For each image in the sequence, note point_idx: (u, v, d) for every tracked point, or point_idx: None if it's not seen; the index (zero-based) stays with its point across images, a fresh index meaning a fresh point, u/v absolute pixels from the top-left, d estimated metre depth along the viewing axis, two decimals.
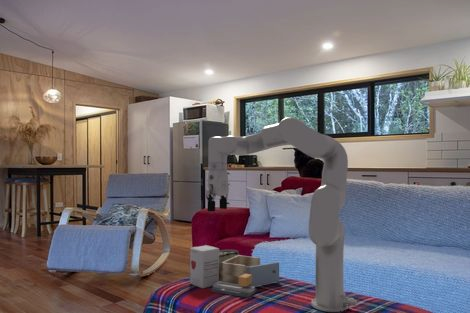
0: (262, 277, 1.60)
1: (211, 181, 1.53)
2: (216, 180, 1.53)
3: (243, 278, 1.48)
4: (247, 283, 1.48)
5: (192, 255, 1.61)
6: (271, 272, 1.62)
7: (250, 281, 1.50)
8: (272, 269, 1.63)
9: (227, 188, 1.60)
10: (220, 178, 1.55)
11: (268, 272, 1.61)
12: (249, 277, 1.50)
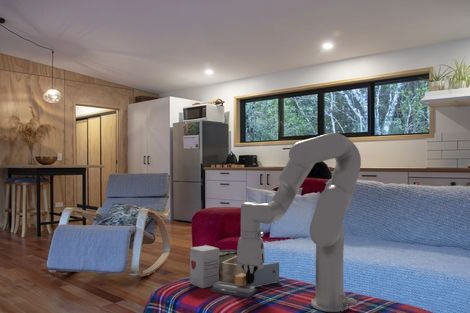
0: (262, 277, 1.60)
1: (262, 250, 1.47)
2: (263, 248, 1.49)
3: (239, 277, 1.48)
4: (243, 282, 1.49)
5: (192, 255, 1.61)
6: (271, 272, 1.62)
7: None
8: (272, 269, 1.63)
9: None
10: None
11: (268, 272, 1.61)
12: (245, 276, 1.50)
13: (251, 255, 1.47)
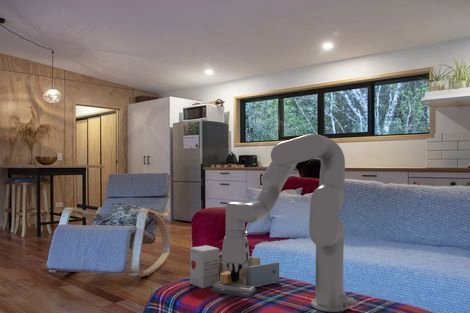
0: (262, 277, 1.60)
1: (246, 249, 1.50)
2: (248, 246, 1.52)
3: (224, 275, 1.51)
4: (228, 280, 1.52)
5: (192, 255, 1.61)
6: (271, 272, 1.62)
7: None
8: (272, 269, 1.63)
9: None
10: None
11: (268, 272, 1.61)
12: (230, 274, 1.53)
13: (235, 254, 1.49)
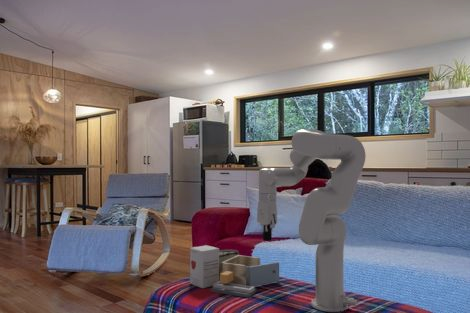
0: (262, 277, 1.60)
1: None
2: None
3: (224, 275, 1.51)
4: (228, 280, 1.52)
5: (192, 255, 1.61)
6: (271, 272, 1.62)
7: (231, 278, 1.54)
8: (272, 269, 1.63)
9: (265, 218, 1.63)
10: (259, 207, 1.68)
11: (268, 272, 1.61)
12: (230, 274, 1.53)
13: None
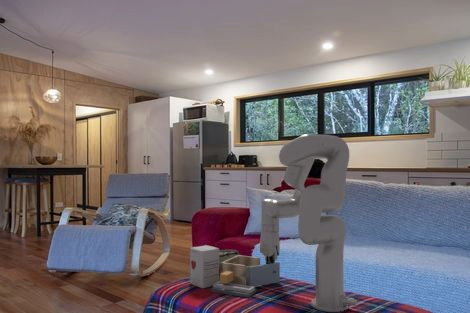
0: (262, 277, 1.60)
1: None
2: None
3: (224, 275, 1.51)
4: (228, 280, 1.52)
5: (192, 255, 1.61)
6: (271, 272, 1.62)
7: (231, 278, 1.54)
8: (272, 269, 1.62)
9: (268, 250, 1.62)
10: (262, 238, 1.67)
11: (268, 272, 1.61)
12: (230, 274, 1.53)
13: None
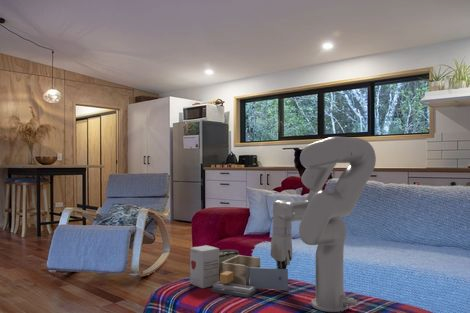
0: (265, 281, 1.54)
1: None
2: None
3: (224, 275, 1.51)
4: (228, 280, 1.52)
5: (192, 255, 1.61)
6: (277, 278, 1.54)
7: (231, 278, 1.54)
8: (278, 275, 1.54)
9: (280, 254, 1.53)
10: (273, 241, 1.58)
11: (273, 277, 1.54)
12: (230, 274, 1.53)
13: None
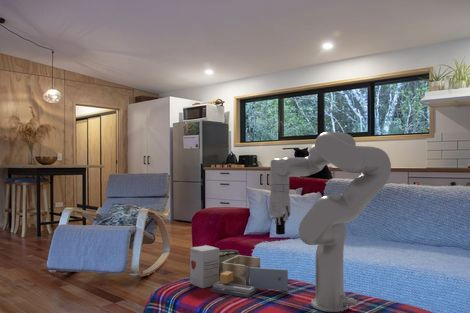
0: (265, 281, 1.54)
1: None
2: None
3: (224, 275, 1.51)
4: (228, 280, 1.52)
5: (192, 255, 1.61)
6: (276, 278, 1.53)
7: (231, 278, 1.54)
8: (278, 275, 1.53)
9: (278, 210, 1.55)
10: (271, 199, 1.60)
11: (272, 278, 1.53)
12: (230, 274, 1.53)
13: None
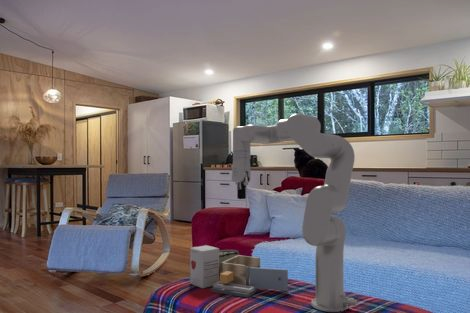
0: (265, 281, 1.54)
1: None
2: None
3: (224, 275, 1.51)
4: (228, 280, 1.52)
5: (192, 255, 1.61)
6: (276, 278, 1.53)
7: (231, 278, 1.54)
8: (278, 275, 1.53)
9: (239, 175, 1.62)
10: (233, 166, 1.67)
11: (272, 278, 1.53)
12: (230, 274, 1.53)
13: None
